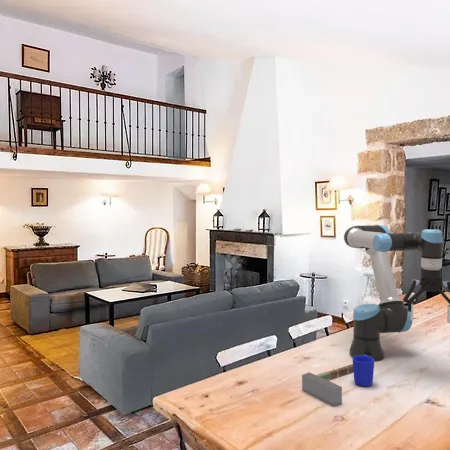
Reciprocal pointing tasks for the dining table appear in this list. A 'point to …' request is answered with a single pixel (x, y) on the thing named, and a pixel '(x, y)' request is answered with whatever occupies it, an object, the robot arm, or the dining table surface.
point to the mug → (363, 370)
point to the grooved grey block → (322, 389)
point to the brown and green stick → (336, 372)
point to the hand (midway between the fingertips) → (430, 320)
